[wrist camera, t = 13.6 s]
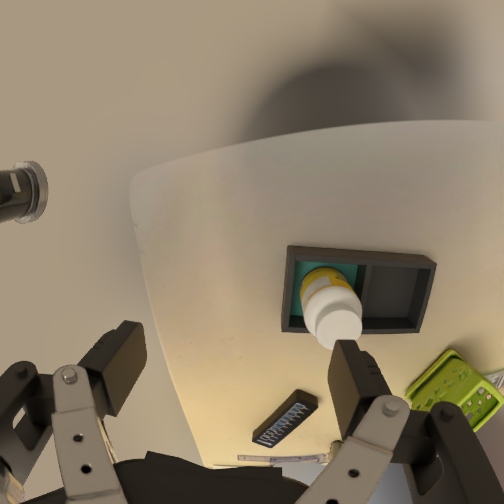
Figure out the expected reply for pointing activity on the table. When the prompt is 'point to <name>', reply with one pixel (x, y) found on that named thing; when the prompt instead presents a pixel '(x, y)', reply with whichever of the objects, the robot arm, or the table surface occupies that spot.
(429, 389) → the flower pot
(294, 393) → the multiport hub
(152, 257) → the table surface
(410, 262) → the dark grey divided tray
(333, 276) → the pill bottle
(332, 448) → the cream tall rounded block
